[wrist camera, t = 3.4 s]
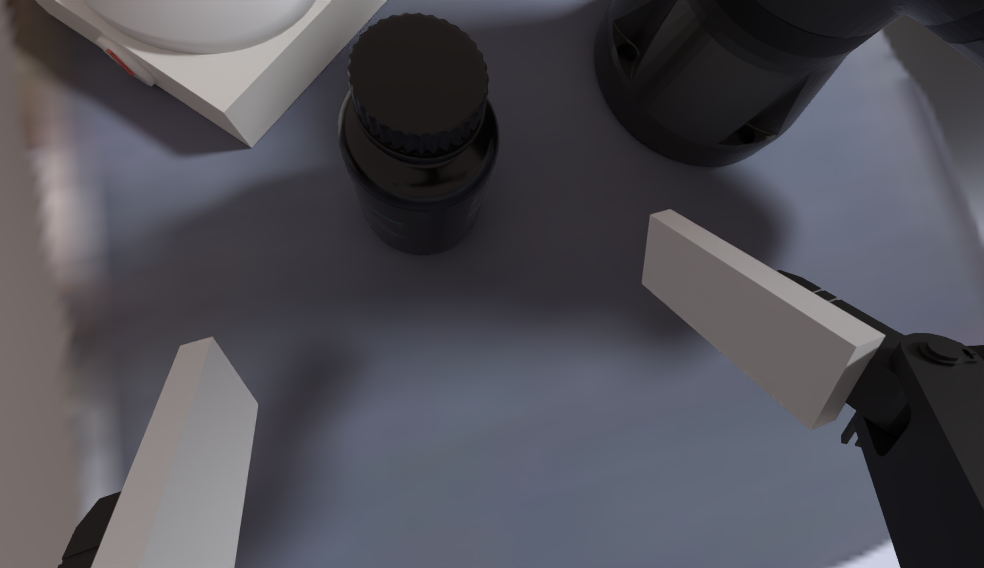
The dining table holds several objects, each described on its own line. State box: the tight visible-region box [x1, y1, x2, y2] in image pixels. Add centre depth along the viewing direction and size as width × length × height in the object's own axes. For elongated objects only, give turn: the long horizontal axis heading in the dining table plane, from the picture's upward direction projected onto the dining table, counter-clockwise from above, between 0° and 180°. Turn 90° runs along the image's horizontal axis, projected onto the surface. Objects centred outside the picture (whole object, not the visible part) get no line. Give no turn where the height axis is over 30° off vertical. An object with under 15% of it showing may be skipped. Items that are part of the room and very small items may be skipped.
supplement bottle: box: [338, 13, 499, 255], centre depth 20 cm, size 7×7×12 cm
